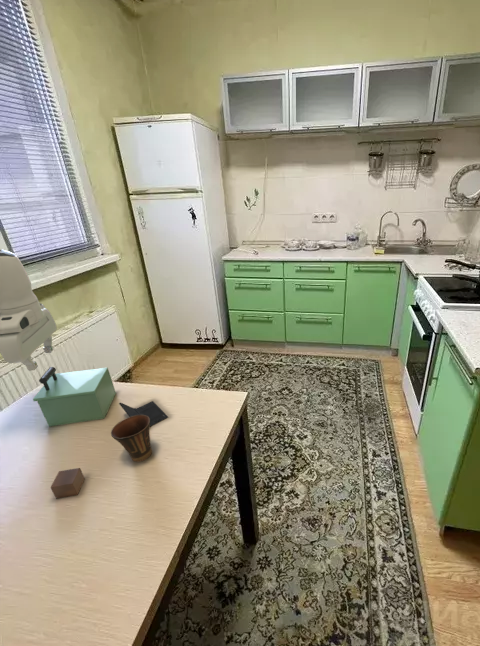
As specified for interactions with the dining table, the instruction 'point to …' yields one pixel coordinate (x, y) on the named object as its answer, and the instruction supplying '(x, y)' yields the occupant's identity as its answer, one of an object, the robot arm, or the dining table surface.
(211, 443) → the dining table surface
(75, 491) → the block
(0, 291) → the robot arm
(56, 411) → the green open box
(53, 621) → the dining table surface
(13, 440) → the dining table surface
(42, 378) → the lid
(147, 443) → the cup
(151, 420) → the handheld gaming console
